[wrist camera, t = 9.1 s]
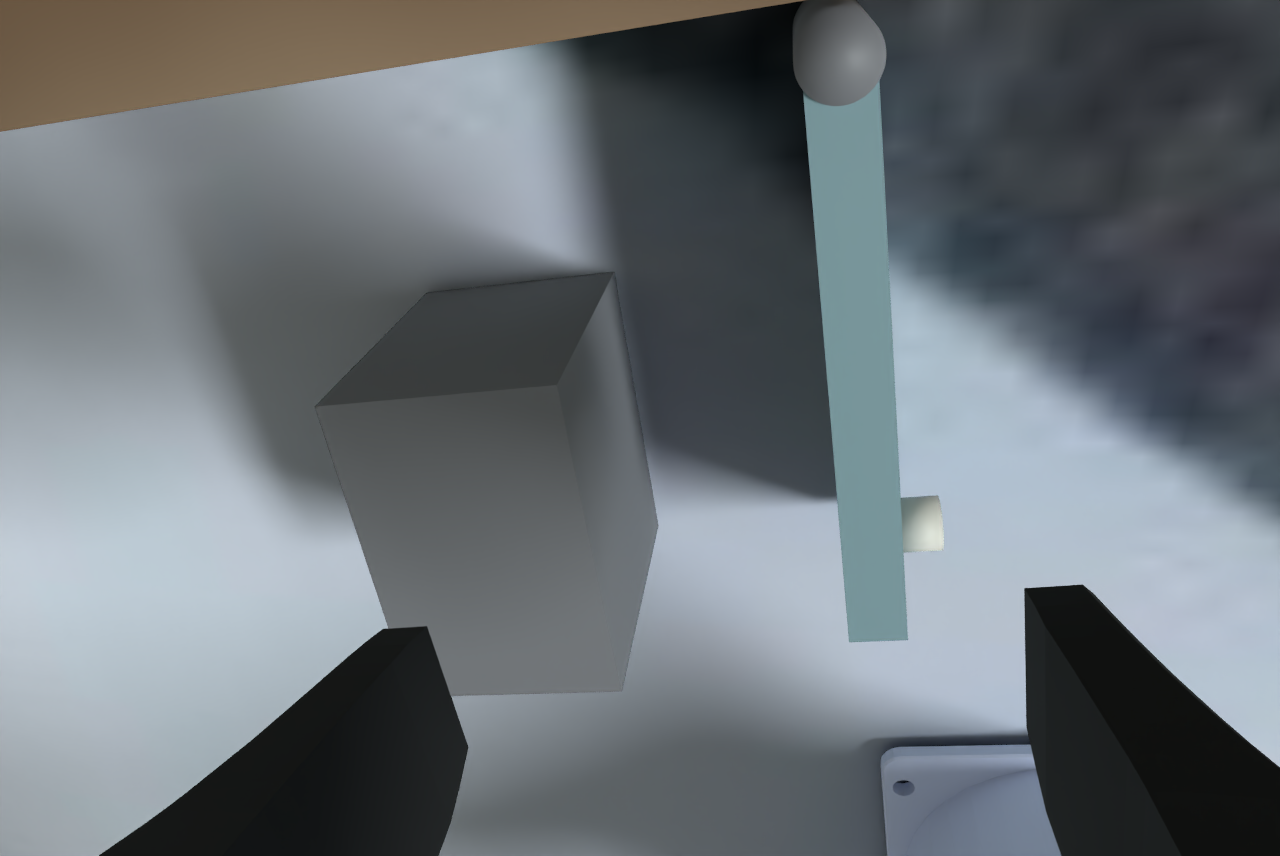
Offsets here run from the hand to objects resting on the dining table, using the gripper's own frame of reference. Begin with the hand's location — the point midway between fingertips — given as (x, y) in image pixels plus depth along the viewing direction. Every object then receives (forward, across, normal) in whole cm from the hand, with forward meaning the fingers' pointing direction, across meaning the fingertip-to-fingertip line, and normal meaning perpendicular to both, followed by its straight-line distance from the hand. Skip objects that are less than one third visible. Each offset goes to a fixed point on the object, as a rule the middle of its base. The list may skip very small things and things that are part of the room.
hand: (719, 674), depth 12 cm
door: (+9, -2, -2) cm, 9 cm away
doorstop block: (+10, +4, +1) cm, 11 cm away
